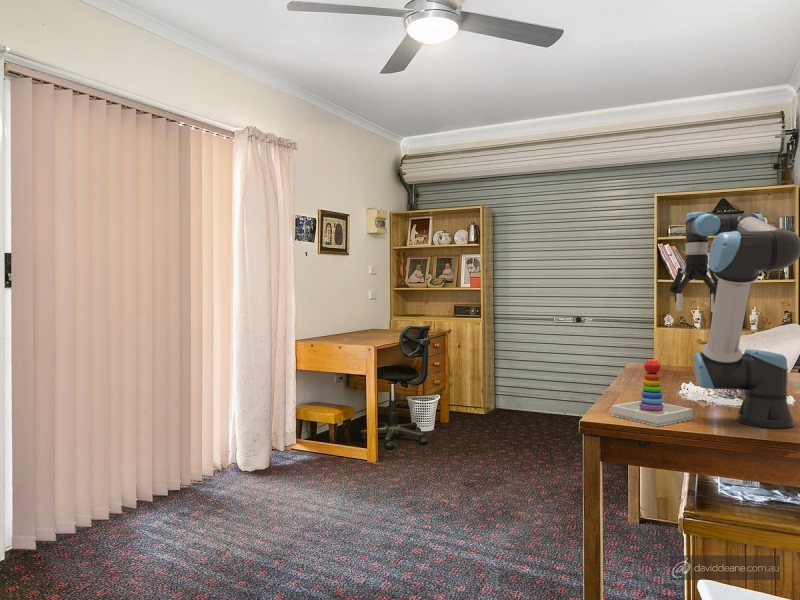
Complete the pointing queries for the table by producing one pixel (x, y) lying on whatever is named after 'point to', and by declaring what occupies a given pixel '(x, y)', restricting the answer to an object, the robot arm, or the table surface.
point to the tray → (669, 417)
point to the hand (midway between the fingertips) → (696, 311)
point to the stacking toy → (651, 389)
